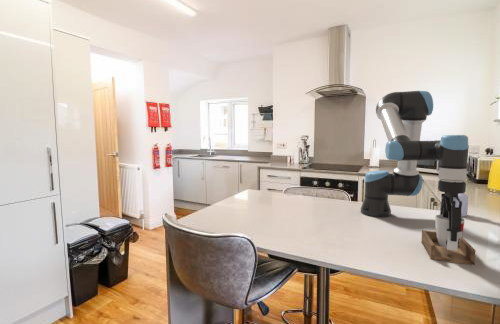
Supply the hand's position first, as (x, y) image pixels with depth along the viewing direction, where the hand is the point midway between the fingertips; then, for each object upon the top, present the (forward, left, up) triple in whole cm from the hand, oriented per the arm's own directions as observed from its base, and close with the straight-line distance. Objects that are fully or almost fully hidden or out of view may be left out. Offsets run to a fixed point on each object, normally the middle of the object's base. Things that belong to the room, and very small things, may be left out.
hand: (448, 245), depth 94 cm
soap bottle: (+19, +63, -4) cm, 66 cm away
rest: (0, +3, -4) cm, 5 cm away
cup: (0, 0, 0) cm, 0 cm away
